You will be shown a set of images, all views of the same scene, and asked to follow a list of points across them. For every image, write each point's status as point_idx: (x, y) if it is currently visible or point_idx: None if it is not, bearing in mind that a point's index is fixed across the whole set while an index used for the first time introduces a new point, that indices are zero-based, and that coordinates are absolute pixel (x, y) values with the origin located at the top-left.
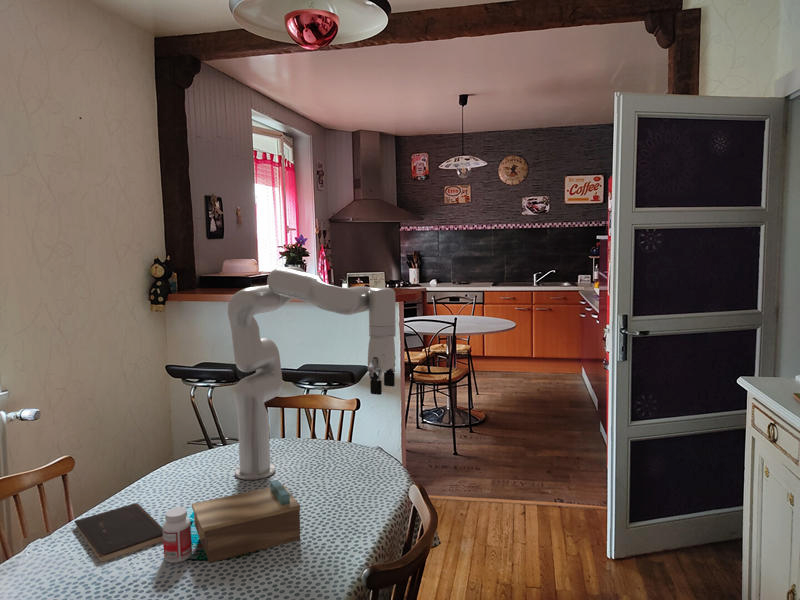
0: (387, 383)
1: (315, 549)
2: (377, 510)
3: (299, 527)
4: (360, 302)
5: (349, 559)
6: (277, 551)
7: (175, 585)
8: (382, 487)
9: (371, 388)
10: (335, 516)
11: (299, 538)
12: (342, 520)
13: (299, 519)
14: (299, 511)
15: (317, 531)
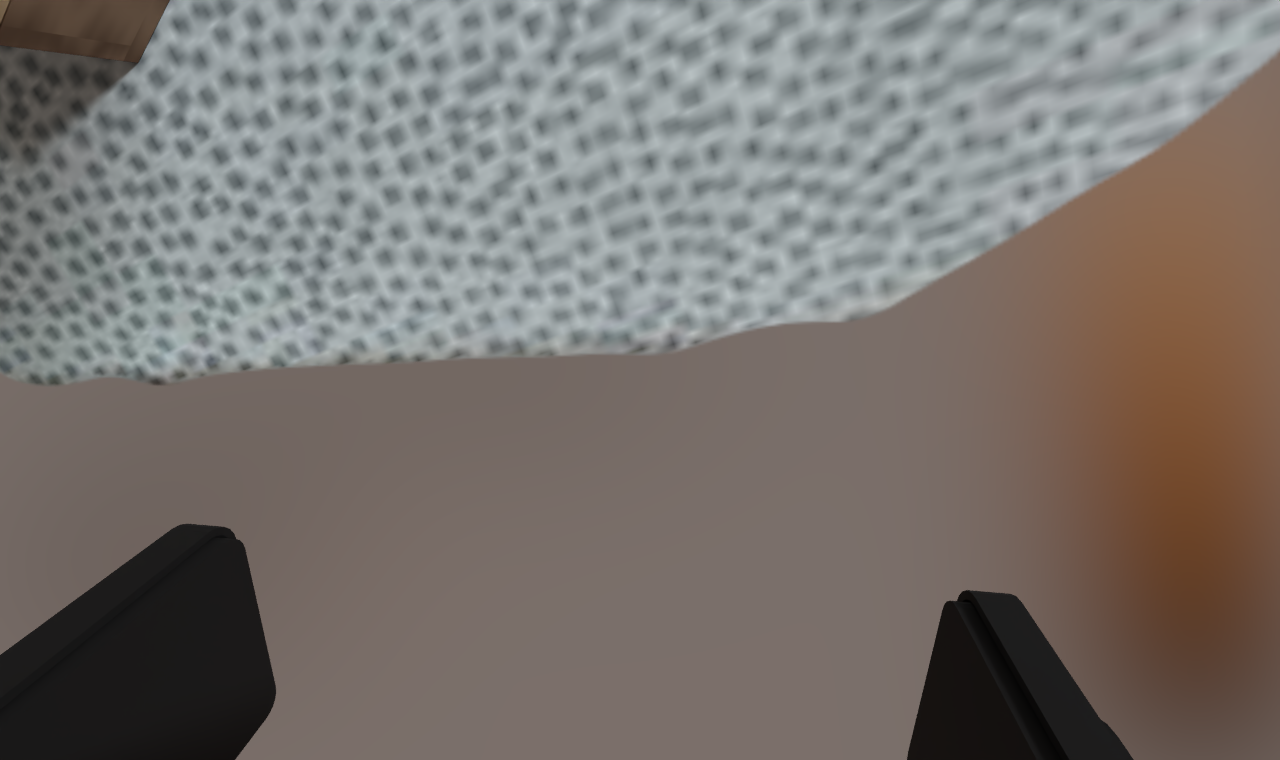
0: (947, 707)
1: (120, 168)
2: (510, 284)
3: (85, 54)
4: None
5: (142, 321)
6: None
7: None
8: (753, 217)
9: (99, 611)
10: (379, 117)
11: (130, 59)
12: (362, 168)
13: (48, 50)
14: (9, 45)
15: (229, 102)
